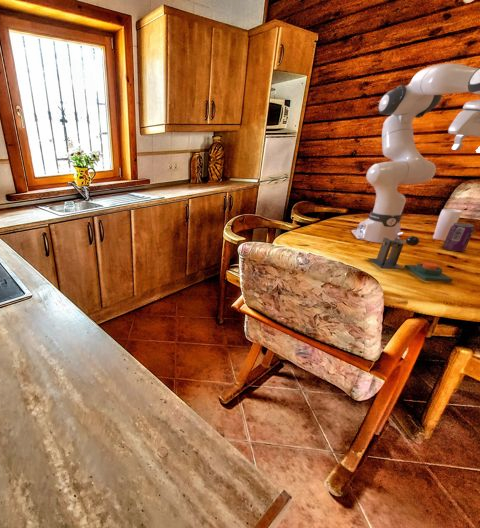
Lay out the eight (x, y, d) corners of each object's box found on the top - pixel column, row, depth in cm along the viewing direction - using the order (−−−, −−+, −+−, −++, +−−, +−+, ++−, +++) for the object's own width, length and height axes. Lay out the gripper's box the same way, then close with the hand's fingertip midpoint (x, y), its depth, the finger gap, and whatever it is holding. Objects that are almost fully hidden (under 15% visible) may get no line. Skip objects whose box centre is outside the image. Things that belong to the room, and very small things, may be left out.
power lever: (421, 245, 101) (422, 235, 101) (409, 245, 102) (410, 235, 102) (395, 248, 114) (395, 239, 115) (384, 248, 115) (385, 239, 115)
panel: (403, 269, 114) (406, 260, 112) (427, 270, 112) (431, 261, 110) (423, 282, 103) (427, 273, 102) (450, 284, 101) (454, 274, 100)
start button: (419, 265, 108) (420, 261, 108) (431, 266, 107) (433, 262, 107) (426, 270, 105) (428, 265, 104) (439, 270, 104) (441, 266, 103)
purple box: (468, 252, 125) (481, 226, 120) (449, 252, 127) (461, 226, 122) (455, 246, 132) (466, 222, 127) (437, 246, 133) (447, 222, 128)
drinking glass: (434, 240, 140) (446, 211, 134) (427, 236, 145) (438, 208, 139) (452, 241, 137) (465, 212, 131) (444, 237, 143) (456, 209, 137)
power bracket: (403, 271, 112) (414, 244, 107) (379, 270, 114) (389, 243, 109) (389, 261, 121) (398, 236, 116) (367, 260, 123) (375, 235, 118)
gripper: (517, 109, 93) (485, 152, 100) (460, 102, 92) (432, 146, 99) (541, 110, 87) (505, 156, 95) (481, 102, 86) (449, 149, 94)
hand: (467, 151), depth 97 cm, fingers open, 8 cm apart
